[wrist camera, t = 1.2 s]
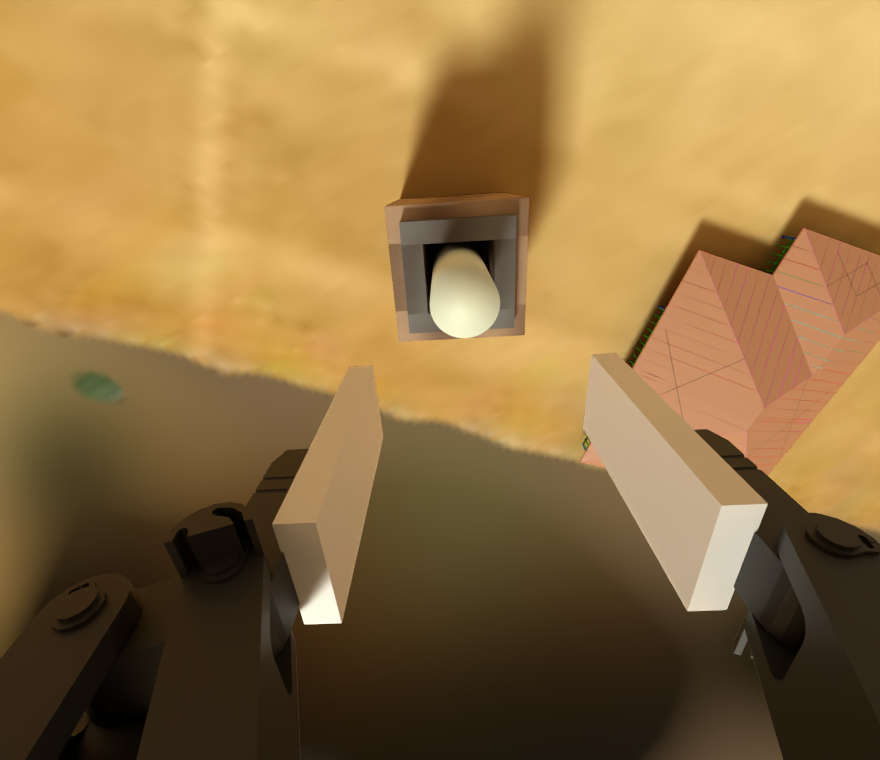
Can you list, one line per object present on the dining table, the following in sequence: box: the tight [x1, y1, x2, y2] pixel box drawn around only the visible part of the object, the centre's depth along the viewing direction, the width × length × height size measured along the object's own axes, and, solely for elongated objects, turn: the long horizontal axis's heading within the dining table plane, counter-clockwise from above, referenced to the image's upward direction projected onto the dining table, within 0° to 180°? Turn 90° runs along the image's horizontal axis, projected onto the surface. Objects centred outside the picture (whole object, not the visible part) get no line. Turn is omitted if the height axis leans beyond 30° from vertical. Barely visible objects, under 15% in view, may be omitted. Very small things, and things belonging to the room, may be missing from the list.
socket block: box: [385, 192, 529, 342], centre depth 35 cm, size 10×10×13 cm
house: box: [580, 228, 880, 475], centre depth 44 cm, size 23×33×8 cm
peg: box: [430, 242, 500, 338], centre depth 29 cm, size 4×4×12 cm
